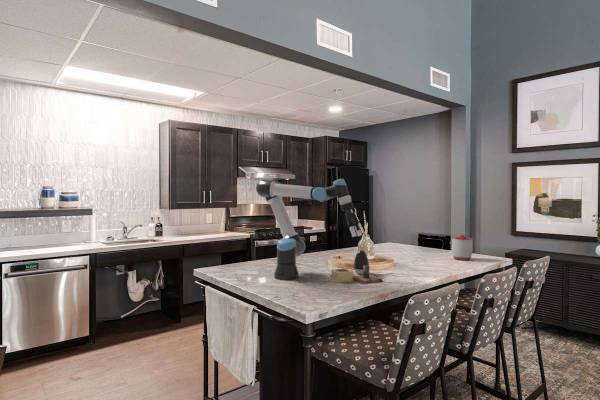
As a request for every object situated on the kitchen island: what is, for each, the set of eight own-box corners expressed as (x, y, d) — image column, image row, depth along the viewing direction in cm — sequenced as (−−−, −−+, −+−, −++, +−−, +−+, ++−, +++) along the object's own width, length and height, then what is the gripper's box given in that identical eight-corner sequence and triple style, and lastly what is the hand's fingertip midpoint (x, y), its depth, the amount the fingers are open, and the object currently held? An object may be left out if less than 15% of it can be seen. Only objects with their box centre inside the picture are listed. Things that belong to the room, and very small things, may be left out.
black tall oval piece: (351, 274, 235) (351, 250, 235) (356, 271, 244) (356, 248, 244) (366, 276, 230) (366, 251, 230) (371, 272, 239) (371, 249, 239)
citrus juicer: (455, 256, 302) (455, 232, 302) (476, 259, 288) (476, 234, 288) (445, 258, 292) (445, 233, 292) (467, 261, 279) (467, 235, 278)
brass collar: (338, 282, 212) (338, 272, 212) (331, 279, 221) (331, 269, 221) (353, 281, 215) (353, 271, 215) (345, 278, 224) (345, 268, 224)
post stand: (361, 283, 210) (361, 269, 210) (350, 278, 223) (350, 264, 223) (382, 281, 215) (382, 267, 215) (370, 276, 228) (370, 263, 228)
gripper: (356, 198, 214) (368, 233, 212) (347, 204, 239) (357, 235, 237) (344, 202, 213) (356, 237, 211) (336, 207, 238) (347, 238, 236)
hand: (357, 236), depth 224 cm, fingers open, 13 cm apart
